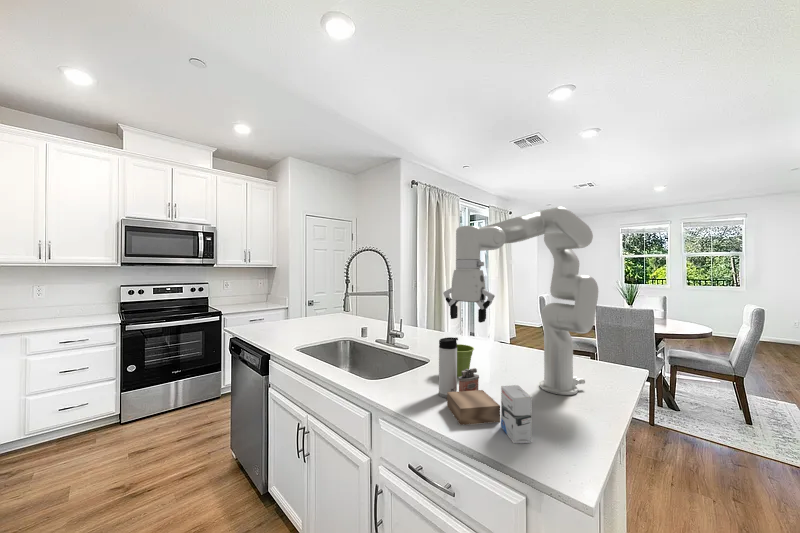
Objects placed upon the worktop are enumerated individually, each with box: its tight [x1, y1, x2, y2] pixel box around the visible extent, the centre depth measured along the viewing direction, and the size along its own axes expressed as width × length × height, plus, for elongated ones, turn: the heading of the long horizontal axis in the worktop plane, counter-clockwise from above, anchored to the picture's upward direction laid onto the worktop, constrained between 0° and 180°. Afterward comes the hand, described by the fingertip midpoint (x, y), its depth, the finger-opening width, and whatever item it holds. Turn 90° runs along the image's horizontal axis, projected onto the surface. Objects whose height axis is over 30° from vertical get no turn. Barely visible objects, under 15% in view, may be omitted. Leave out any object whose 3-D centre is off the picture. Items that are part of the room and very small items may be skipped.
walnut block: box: [446, 389, 501, 426], centre depth 96 cm, size 12×12×5 cm
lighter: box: [457, 367, 480, 392], centre depth 107 cm, size 8×3×10 cm, turn 117°
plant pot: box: [457, 343, 475, 378], centre depth 131 cm, size 12×12×11 cm
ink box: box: [500, 384, 533, 444], centre depth 84 cm, size 8×5×12 cm, turn 5°
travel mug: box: [438, 337, 459, 399], centre depth 110 cm, size 6×7×20 cm
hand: (467, 320), depth 99 cm, fingers open, 9 cm apart
